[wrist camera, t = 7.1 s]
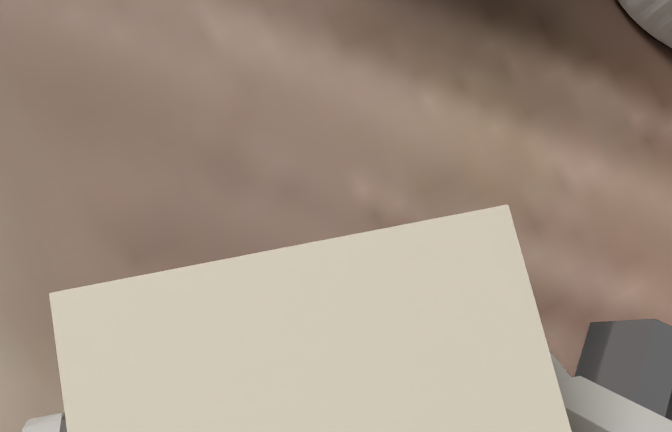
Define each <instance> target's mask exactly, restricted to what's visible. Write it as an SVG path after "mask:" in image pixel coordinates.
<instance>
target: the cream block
mask: <svg viewBox="0 0 672 432" xmlns="http://www.w3.org/2000/svg"><path fill="white" fill-rule="evenodd" d="M49 296H50V304H51V311H52V319H53V327H54V334H55V342H56V350H57V357H58V365H59V373H60V380H61V388H62V396H63V404H64V411H65V419H66V427H67V432H572V431H571V427H570V424H569V420H568V417H567V413H566V410H565V406H564V402H563V399H562V395H561V392H560V388H559V385H558V381H557V377H556V374H555V370H554V367H553V363H552V359H551V356H550V352H549V349H548V345H547V342H546V338H545V334H544V331H543V327H542V324H541V320H540V317H539V313H538V309H537V306H536V302H535V299H534V295H533V292H532V288H531V284H530V281H529V277H528V274H527V270H526V267H525V263H524V259H523V256H522V252H521V249H520V245H519V242H518V238H517V234H516V231H515V227H514V224H513V220H512V217H511V213H510V209H509V206H508V205H503V206H498V207H492V208H487V209H482V210H477V211H472V212H467V213H461V214H456V215H451V216H446V217H441V218H436V219H430V220H425V221H420V222H415V223H410V224H405V225H399V226H394V227H389V228H384V229H379V230H373V231H368V232H363V233H358V234H353V235H348V236H342V237H337V238H332V239H327V240H322V241H317V242H311V243H306V244H301V245H296V246H291V247H286V248H280V249H275V250H270V251H265V252H260V253H254V254H249V255H244V256H239V257H234V258H229V259H223V260H218V261H213V262H208V263H203V264H198V265H192V266H187V267H182V268H177V269H172V270H167V271H161V272H156V273H151V274H146V275H141V276H136V277H130V278H125V279H120V280H115V281H110V282H104V283H99V284H94V285H89V286H84V287H79V288H73V289H68V290H63V291H58V292H53V293H49Z"/></svg>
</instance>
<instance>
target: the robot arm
mask: <svg viewBox="0 0 672 432" xmlns="http://www.w3.org/2000/svg"><path fill="white" fill-rule="evenodd" d="M549 352H550V356H551V359H552V363H553V367H554V370H555V374H556V377H557V381H558V385H559V388H560V392H561V395H562V399H563V402H564V406H565V410H566V413H567V417H568V420H569V424H570V427H571V431H572V432H672V421H671V420H669V419H667V418H665V417H663V416H661V415H659V414H657V413H655V412H653V411H651V410H649V409H647V408H645V407H643V406H641V405H639V404H637V403H635V402H633V401H631V400H629V399H627V398H624V397H622V396H620V395H618V394H616V393H614V392H612V391H610V390H608V389H606V388H604V387H602V386H600V385H598V384H596V383H594V382H592V381H590V380H588V379H586V378H584V377H582V376H576V377H571V376H570V375H569V374H568V372H567V371H566V370H565V369H564V367H563V366H562V365H561V364H560V363H559V361H558V360H557V359H556V358H555V356H554V355H553V354H552V353H551V351H550V350H549ZM22 432H67V427H66V419H65V412H60V413H56V414H51V415H46V416H42V417H37V418H33V419H28V421H27V423H26V424H25V426H24V428H23V429H22Z"/></svg>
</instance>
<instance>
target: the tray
mask: <svg viewBox="0 0 672 432" xmlns="http://www.w3.org/2000/svg"><path fill="white" fill-rule="evenodd" d="M576 376H582V377H584V378H586V379H588V380H590V381H592V382H594V383H596V384H598V385H600V386H602V387H604V388H606V389H608V390H610V391H612V392H614V393H616V394H618V395H620V396H622V397H624V398H627V399H629V400H631V401H633V402H635V403H637V404H639V405H641V406H643V407H645V408H647V409H649V410H651V411H653V412H655V413H657V414H659V415H661V416H663V417H665V418H667V419H669V420H671V421H672V326H670V325H668V324H666V323H663V322H661V321H659V320H657V319H643V320H626V321H608V322H591V323H590V326H589V330H588V333H587V337H586V340H585V343H584V347H583V350H582V354H581V357H580V360H579V364H578V367H577V371H576V374H575V377H576Z"/></svg>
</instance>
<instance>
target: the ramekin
mask: <svg viewBox="0 0 672 432" xmlns="http://www.w3.org/2000/svg"><path fill="white" fill-rule="evenodd" d="M618 2H619V3H620V4H621V6H622V7H623V8H624V9H625V11H626V12H627V13H628V14H629V15H630V17H631V18H632V19H633V20H634V21H635V22H636V23H637V24H638V25H640V26H641V27H642V28H643V29H644V30H645V31H647V32H648V33H649V34H650V35H652V36H653V37H654V38H656V39H657V40H659V41H660V42H662V43H664V44H665V45H667V46H669V47H670V48H672V0H618Z"/></svg>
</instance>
